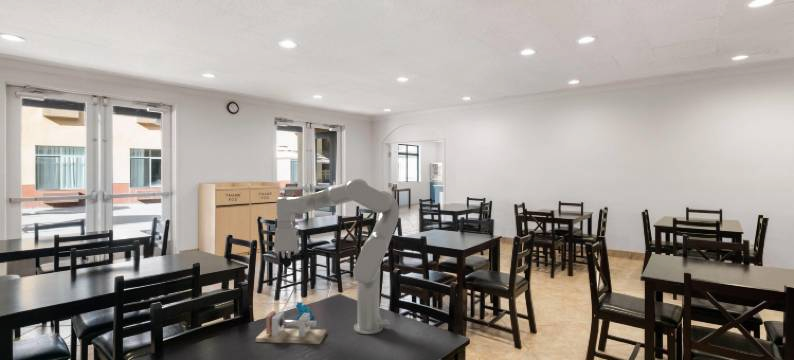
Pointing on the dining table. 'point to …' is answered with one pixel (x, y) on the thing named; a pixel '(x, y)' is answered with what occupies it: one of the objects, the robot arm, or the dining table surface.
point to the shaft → (284, 322)
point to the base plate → (293, 336)
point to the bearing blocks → (279, 329)
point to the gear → (303, 310)
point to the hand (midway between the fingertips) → (287, 266)
